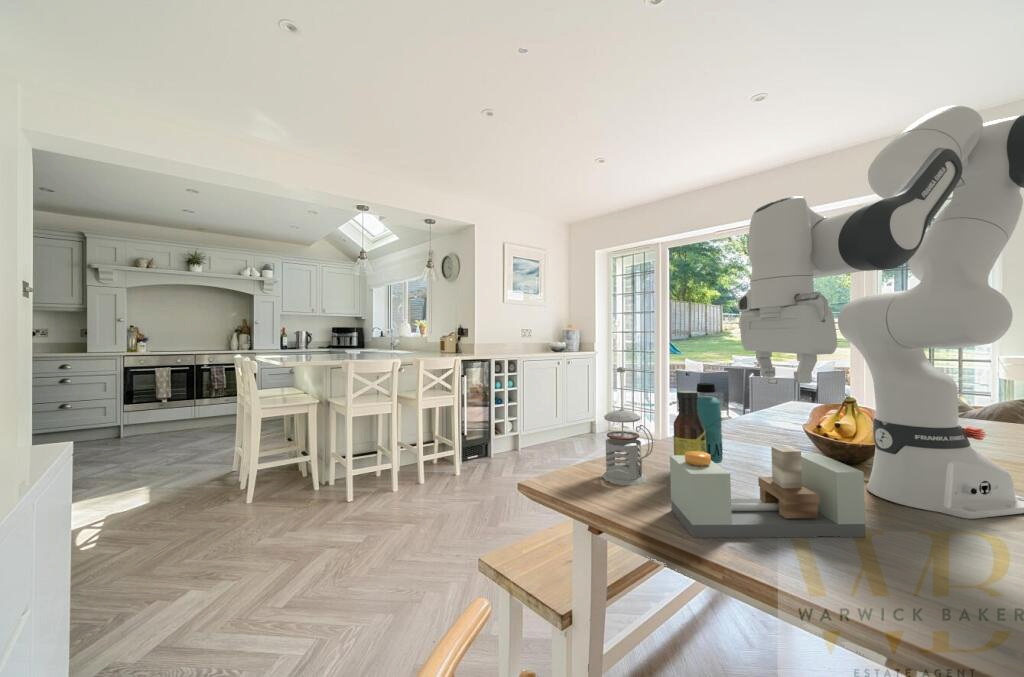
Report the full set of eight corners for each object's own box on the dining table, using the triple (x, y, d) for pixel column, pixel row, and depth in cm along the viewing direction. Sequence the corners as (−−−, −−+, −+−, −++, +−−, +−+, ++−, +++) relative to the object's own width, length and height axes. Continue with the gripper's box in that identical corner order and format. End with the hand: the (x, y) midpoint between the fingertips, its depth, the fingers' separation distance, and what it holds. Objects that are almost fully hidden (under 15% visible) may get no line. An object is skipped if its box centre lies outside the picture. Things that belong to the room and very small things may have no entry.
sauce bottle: (711, 492, 82) (708, 393, 82) (678, 491, 83) (675, 393, 83) (702, 481, 88) (700, 389, 88) (672, 480, 89) (669, 389, 89)
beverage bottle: (697, 470, 95) (695, 384, 95) (690, 461, 102) (687, 381, 102) (727, 470, 94) (725, 384, 94) (718, 461, 101) (715, 381, 101)
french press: (615, 467, 99) (612, 364, 99) (662, 478, 91) (659, 366, 91) (593, 478, 92) (590, 367, 92) (641, 491, 84) (638, 369, 84)
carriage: (788, 499, 72) (786, 442, 72) (819, 519, 64) (818, 455, 64) (758, 499, 72) (757, 443, 72) (786, 519, 64) (785, 456, 64)
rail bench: (819, 509, 73) (818, 453, 73) (865, 536, 63) (863, 472, 63) (671, 510, 74) (669, 455, 74) (692, 537, 64) (691, 474, 64)
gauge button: (705, 486, 71) (704, 450, 71) (715, 495, 67) (714, 457, 67) (682, 486, 71) (681, 451, 71) (691, 495, 67) (689, 458, 67)
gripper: (849, 289, 57) (852, 386, 57) (766, 301, 78) (769, 373, 78) (802, 291, 58) (806, 388, 58) (732, 302, 78) (735, 374, 78)
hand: (784, 379), depth 68 cm, fingers open, 8 cm apart
